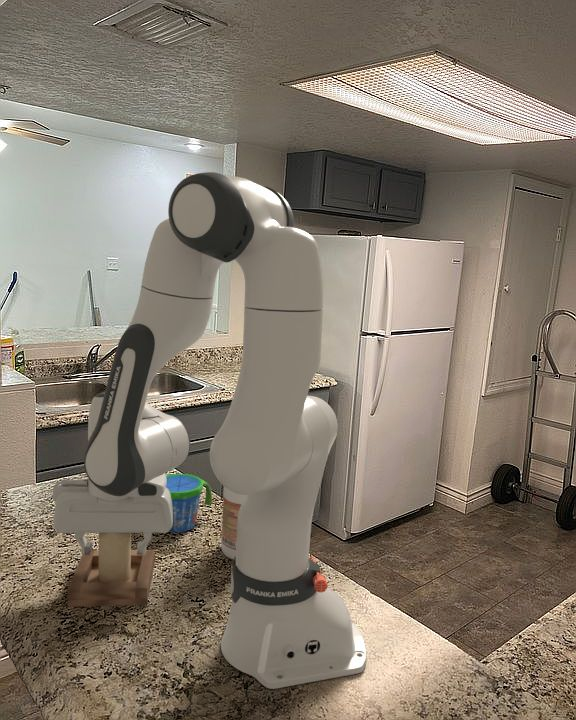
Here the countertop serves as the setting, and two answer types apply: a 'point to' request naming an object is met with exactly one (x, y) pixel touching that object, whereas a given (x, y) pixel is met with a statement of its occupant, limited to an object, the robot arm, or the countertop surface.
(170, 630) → the countertop surface
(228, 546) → the fruit juice
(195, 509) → the snack cup
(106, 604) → the brown shallow square tray
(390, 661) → the countertop surface
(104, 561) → the candle
